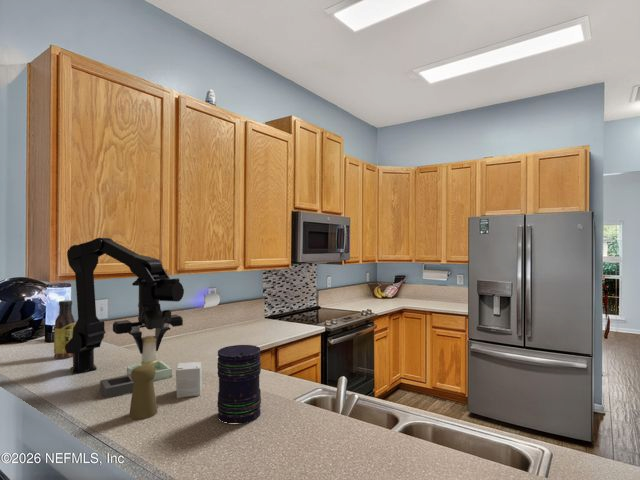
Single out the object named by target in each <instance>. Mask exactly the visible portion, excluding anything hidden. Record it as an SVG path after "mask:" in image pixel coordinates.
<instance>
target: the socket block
mask: <svg viewBox="0 0 640 480" xmlns="http://www.w3.org/2000/svg"><path fill="white" fill-rule="evenodd" d="M99 384H100V385H99V386H100V387H99V389H100V391H101V393H102V395H103V396H104V397H105V399H109V398H115V397H118V396H122V395H127V394H132V391H133V384H134V382H133V381H132V379H131V374H130V375H127V374H125V375H120V376H115V377H111V378H110V377H109V378H105V379H100V382H99Z"/></svg>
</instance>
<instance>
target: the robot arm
mask: <svg viewBox="0 0 640 480" xmlns="http://www.w3.org/2000/svg"><path fill="white" fill-rule="evenodd" d="M103 255H104V256H105V255H106V256H107V255H108V256H109V257H111V258H112V259H114V260H115V261H118V262H119V263H122V264H123V265H125V266H127V267H128V268H129V271H130V272H131V273H132V274H133V275H134V276H136V277H137V278H136V279H135V281H133V282H132V284H131V285H132V286H133V287H137V286H138V303H137V307H138V316H137V321H135V322H131V321H130V320H128V319H124V320H115V321H114V322H113V323H112V332H114V334H116V335H123V334H129V335H130V336H132V338H133V339H134V341H135V344H136V346H137V349H138V352H139V353H140V354H141V355H142V352H143V347H142V334H143V332H142V331H141V328H142V329H144V328H146V329H147V330H151V331H152V330H155V332H154V336H156V337H157V340H156V352H159V348H160V345H161V343H162V340H163V337H164V336H165V335H166V333H167V331H170V330H171V327H170V326H172V327H173V328H175V327H181V326H184V320H183V317H182V316H181V315H179V314H172V311H171V310H170V309H167V310H166V309H165V310H162V309H161V304H160V302H175V303H177V302H181V300H182V299H183V297H184V293H185V289H184V286H183V284H182V283H181V282H180V278H179V277H178V278H170V276H169V274H168V273H167V271H166V270H165V268H164V267H163V263H162V261H161V260H160V259H158V258H155V257H152V256H149V255H148V256H147V255H141V254H139V253H136V252H135V251H133V250H131V249H130V248H127V247H125V246H123V245H121V244H120V243H118V242H116V241H114V240H113V239H112V238H110V237H96V238H95V239H92V240H90V241H86V242H82V243H79V244H73V245H71V246H70V247H69V248H68V249H67V251H66V257H67V262H68V266H69V267H70V268H71V270H72V272H74V275H75V287H76V288H75V289H76V290H75V291H76V303H77V304H76V305H77V306H76V307H77V320H76V321H75V323H76V324H75V326H74V328H73V337H72V338H71V340H70V341H69V342H68V343H67V344H66V345H65V350H66V353H72V354H73V356H72V366H71V367H70V369H69V370H70V371H71V373H72V374H79V373H83V372H84V373H85V372H89V371H95V370H97V369H98V367H97V366H96V364H95V349H96V348H100V347H101V346H102V345H101V344H102V341H103V340H104V338H105V334H106V330H105V321H104V320H102V321H101V320H100V319H99V318H98V317H97V307H96V293H95V292H96V291H95V278H94V276H95V275H94V272H95V270H96V269H97V265H98V263H99V258H100V257H102V256H103Z"/></svg>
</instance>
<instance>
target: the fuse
mask: <svg viewBox="0 0 640 480" xmlns="http://www.w3.org/2000/svg"><path fill="white" fill-rule="evenodd" d="M141 337H142V336H141ZM156 340H157V337H156V336H155V335H145V336H143V337H142V347H143V352H142V354H141V362H140V364H141V365H142V366H143V365H150V366H152V365H155V364H156V363H157V361H158V359H157V351H156Z"/></svg>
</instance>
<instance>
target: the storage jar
mask: <svg viewBox="0 0 640 480" xmlns="http://www.w3.org/2000/svg"><path fill="white" fill-rule="evenodd" d="M261 366H262V360H261V348H260V347H259V346H257V345H252V344H236V345H235V344H234V345H230V346H224V347H222V348H220V349H218V350H217V377H218V393H217V405H216V406H217V411H218V412H217V419H218V418H219V419H220V420H221V421H223V422H227V423H246V424H248V423H247V422H250V423H252V422H255V421H257V420H258V419H259V418H260V417H259V416H261V412H262V411H261V407H262V406H261V405H262V397H261V395H262V394H261V388H260V375H261V371H262V370H261V369H262V368H261ZM258 417H259V418H258ZM257 418H258V419H257ZM219 419H218V420H219ZM254 420H255V421H254ZM251 421H252V422H251Z"/></svg>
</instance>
